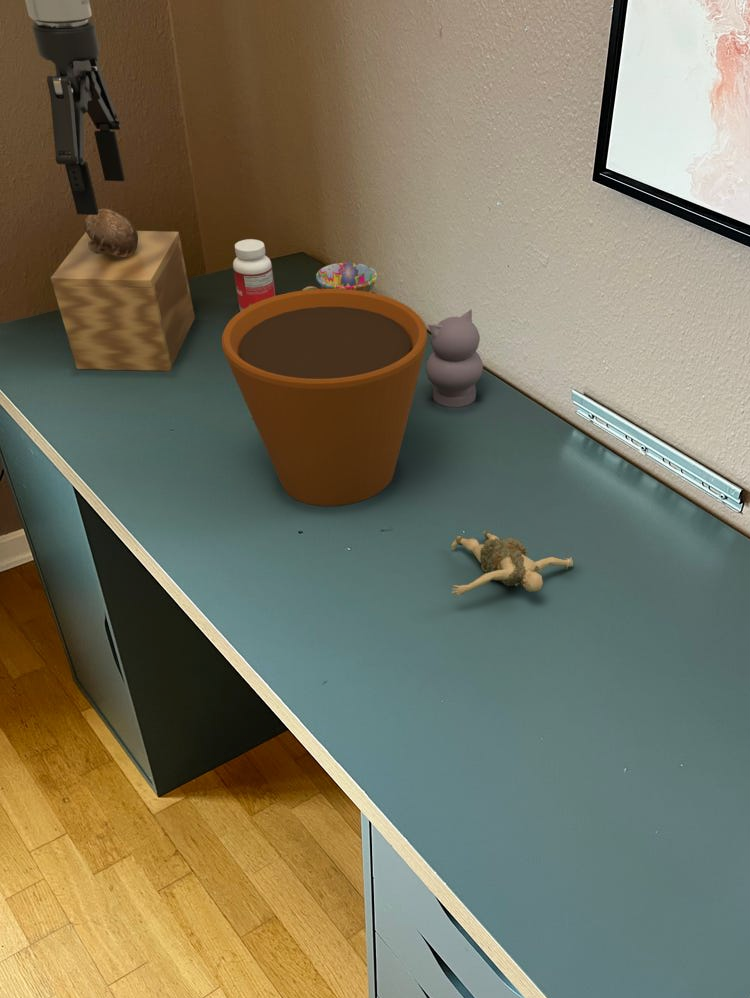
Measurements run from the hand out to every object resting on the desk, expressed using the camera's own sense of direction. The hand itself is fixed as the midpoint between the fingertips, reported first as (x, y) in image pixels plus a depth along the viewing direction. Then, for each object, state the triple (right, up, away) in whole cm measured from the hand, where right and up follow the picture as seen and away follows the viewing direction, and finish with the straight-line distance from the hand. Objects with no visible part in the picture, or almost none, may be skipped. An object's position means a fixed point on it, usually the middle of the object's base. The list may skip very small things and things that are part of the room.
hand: (102, 196), depth 135 cm
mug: (+32, -15, +18) cm, 39 cm away
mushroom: (0, -6, +6) cm, 8 cm away
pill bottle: (+17, -8, +25) cm, 31 cm away
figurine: (+56, -55, -24) cm, 82 cm away
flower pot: (+35, -41, -10) cm, 55 cm away
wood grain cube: (0, -16, +15) cm, 22 cm away
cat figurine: (+50, -27, +6) cm, 57 cm away
